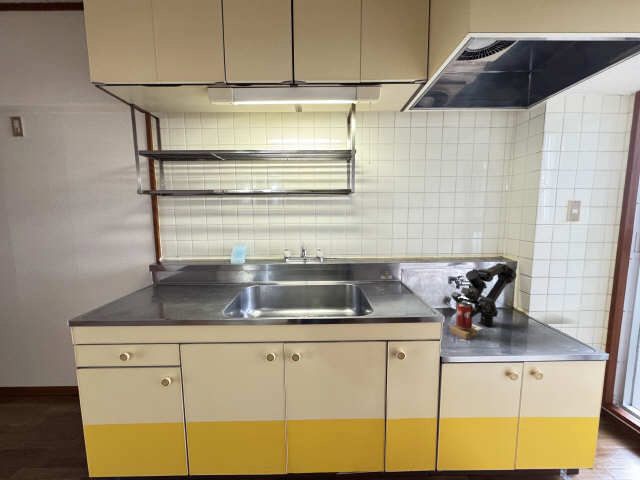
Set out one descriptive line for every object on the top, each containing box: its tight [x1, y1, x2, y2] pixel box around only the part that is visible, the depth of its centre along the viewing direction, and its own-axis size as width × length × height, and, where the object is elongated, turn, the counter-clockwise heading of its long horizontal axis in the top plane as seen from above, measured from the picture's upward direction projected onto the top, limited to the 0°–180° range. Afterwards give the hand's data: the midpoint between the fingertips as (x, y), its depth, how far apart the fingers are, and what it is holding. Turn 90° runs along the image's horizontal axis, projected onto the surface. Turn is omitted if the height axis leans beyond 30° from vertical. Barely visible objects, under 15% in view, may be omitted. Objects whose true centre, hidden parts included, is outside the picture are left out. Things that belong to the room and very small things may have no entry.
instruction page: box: [472, 323, 483, 331], centre depth 148 cm, size 10×7×1 cm
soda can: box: [455, 301, 474, 329], centre depth 140 cm, size 7×7×12 cm
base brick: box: [449, 324, 478, 341], centre depth 141 cm, size 9×9×3 cm
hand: (462, 314), depth 139 cm, fingers closed on soda can, 7 cm apart
